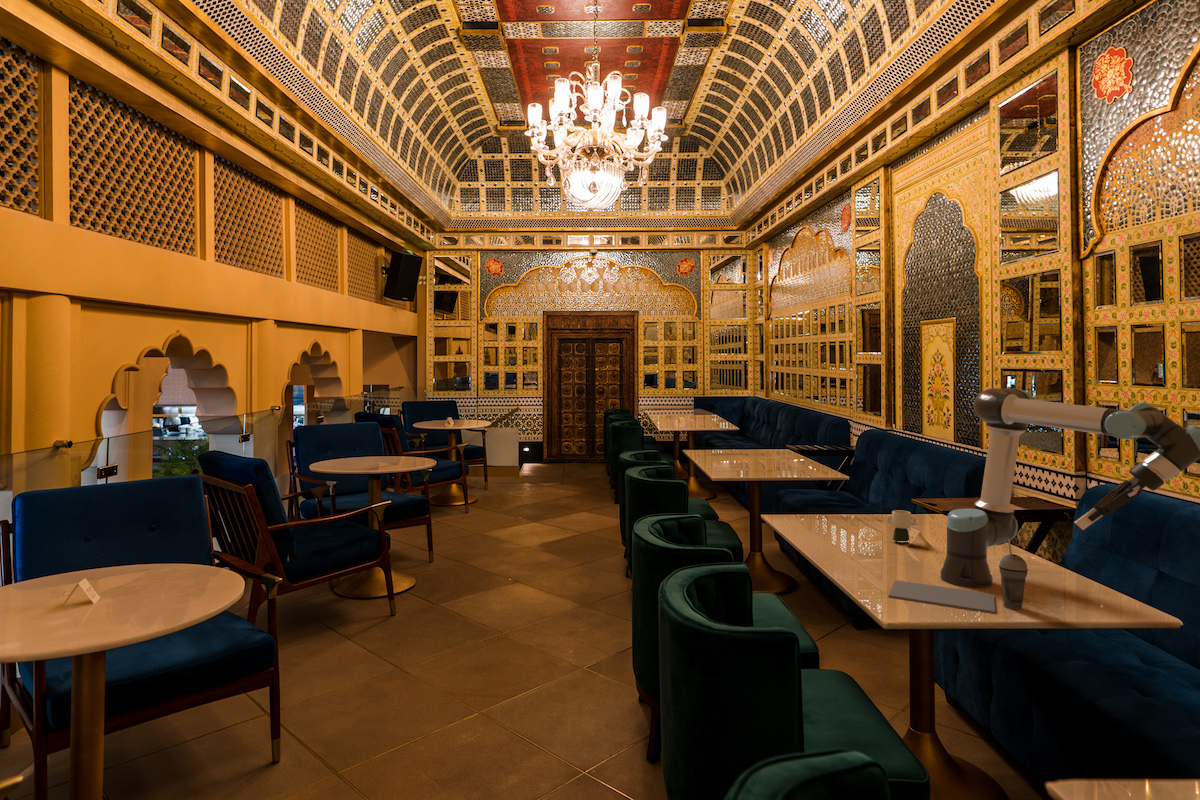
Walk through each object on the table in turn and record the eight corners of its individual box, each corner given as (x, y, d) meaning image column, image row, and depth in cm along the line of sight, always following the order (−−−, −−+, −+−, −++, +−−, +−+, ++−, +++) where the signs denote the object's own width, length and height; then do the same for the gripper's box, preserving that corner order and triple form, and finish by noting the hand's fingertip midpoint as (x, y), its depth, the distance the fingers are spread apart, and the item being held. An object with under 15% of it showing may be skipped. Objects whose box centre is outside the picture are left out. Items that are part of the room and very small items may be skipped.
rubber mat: (888, 597, 198) (888, 595, 198) (894, 581, 213) (894, 580, 213) (995, 613, 184) (995, 611, 184) (993, 596, 199) (993, 594, 199)
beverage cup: (1025, 613, 184) (1026, 543, 184) (995, 607, 189) (997, 539, 188) (1029, 606, 189) (1030, 539, 189) (1000, 601, 194) (1001, 535, 194)
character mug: (914, 542, 268) (915, 511, 268) (916, 546, 262) (916, 514, 262) (886, 539, 272) (886, 509, 272) (887, 543, 266) (887, 512, 266)
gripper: (1172, 485, 171) (1093, 540, 179) (1159, 479, 182) (1085, 531, 191) (1146, 464, 174) (1070, 520, 182) (1135, 459, 185) (1064, 512, 193)
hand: (1078, 526), depth 186 cm, fingers closed
